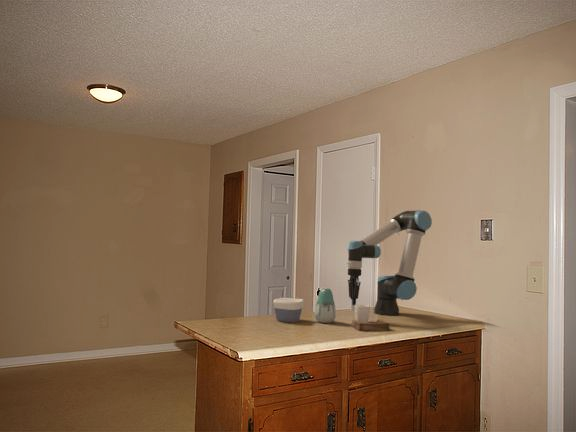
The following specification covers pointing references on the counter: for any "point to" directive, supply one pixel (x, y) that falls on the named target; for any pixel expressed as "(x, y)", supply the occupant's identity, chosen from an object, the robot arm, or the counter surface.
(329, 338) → the counter surface
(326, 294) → the vase
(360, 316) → the white cup
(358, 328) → the brown wooden tray
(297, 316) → the bowl
